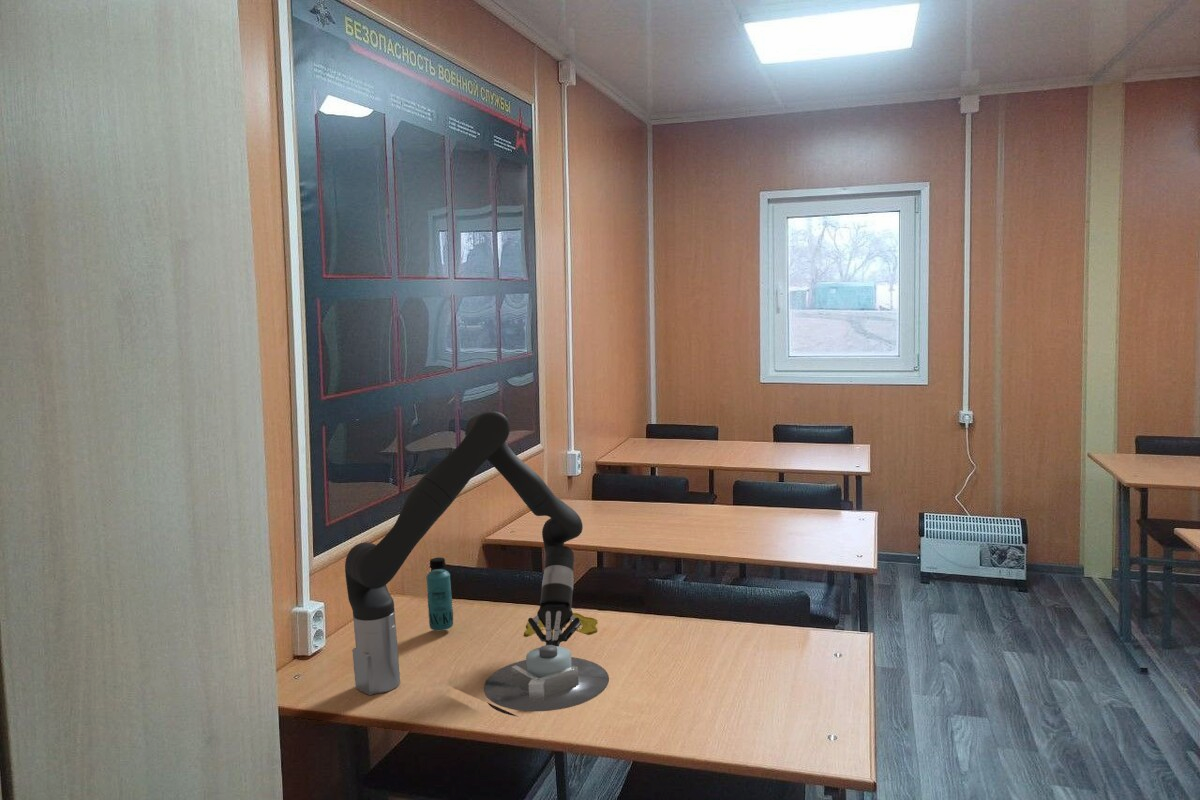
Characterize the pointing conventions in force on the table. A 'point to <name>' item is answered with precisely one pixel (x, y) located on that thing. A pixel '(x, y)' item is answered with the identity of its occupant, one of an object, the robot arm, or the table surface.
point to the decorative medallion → (586, 621)
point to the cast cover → (548, 660)
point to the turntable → (545, 687)
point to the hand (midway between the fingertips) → (551, 658)
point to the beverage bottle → (439, 596)
